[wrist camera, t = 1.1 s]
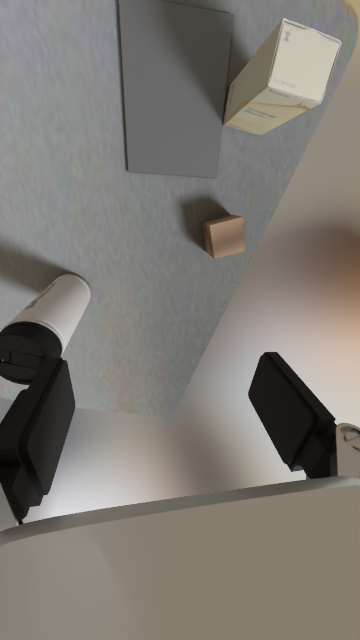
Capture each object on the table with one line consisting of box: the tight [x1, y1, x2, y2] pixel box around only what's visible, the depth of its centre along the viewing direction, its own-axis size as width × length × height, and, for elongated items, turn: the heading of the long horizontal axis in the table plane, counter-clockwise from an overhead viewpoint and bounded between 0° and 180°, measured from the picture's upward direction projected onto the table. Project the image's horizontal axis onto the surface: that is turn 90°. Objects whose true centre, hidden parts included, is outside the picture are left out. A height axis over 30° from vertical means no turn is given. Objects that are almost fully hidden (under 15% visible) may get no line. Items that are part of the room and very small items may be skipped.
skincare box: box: [223, 18, 341, 135], centre depth 25 cm, size 6×4×12 cm
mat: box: [119, 0, 234, 178], centre depth 28 cm, size 16×13×1 cm
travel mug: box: [0, 273, 92, 385], centre depth 30 cm, size 6×7×20 cm
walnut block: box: [202, 215, 245, 259], centre depth 35 cm, size 5×5×5 cm
